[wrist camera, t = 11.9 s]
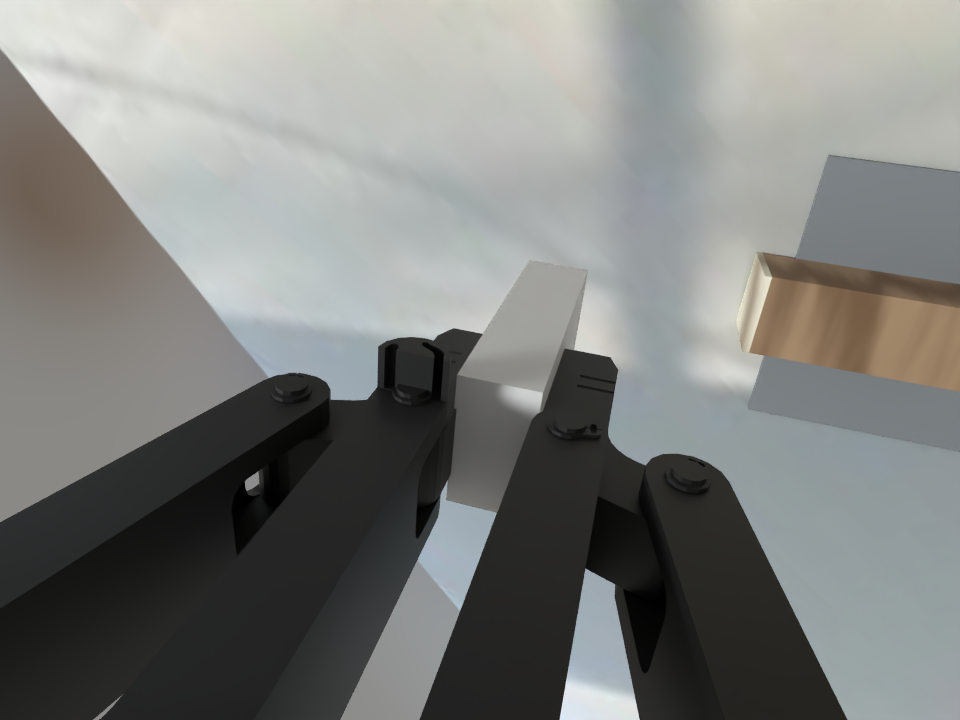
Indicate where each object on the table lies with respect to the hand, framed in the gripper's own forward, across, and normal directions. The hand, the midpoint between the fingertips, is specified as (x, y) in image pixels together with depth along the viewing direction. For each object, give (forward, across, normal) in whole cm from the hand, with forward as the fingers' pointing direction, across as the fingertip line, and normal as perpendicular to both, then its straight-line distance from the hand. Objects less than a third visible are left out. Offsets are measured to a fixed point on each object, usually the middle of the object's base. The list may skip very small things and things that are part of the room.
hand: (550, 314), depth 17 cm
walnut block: (+27, +10, -8) cm, 30 cm away
